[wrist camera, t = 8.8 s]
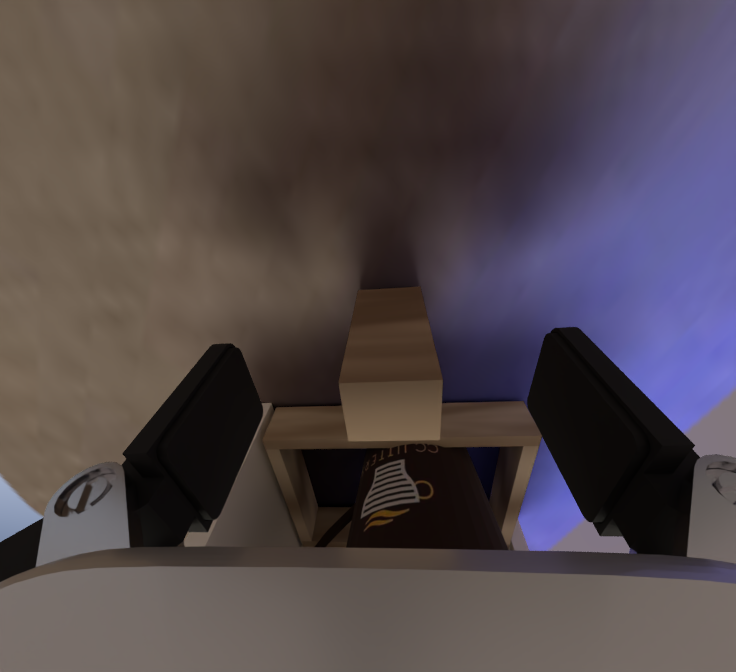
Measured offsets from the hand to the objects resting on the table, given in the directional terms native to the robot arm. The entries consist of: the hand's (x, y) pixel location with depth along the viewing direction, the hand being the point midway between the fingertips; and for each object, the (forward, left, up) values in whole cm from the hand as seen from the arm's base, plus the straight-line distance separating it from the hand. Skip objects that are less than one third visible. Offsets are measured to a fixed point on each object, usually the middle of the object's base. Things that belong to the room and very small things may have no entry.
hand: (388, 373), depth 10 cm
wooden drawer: (+10, 0, -6) cm, 11 cm away
